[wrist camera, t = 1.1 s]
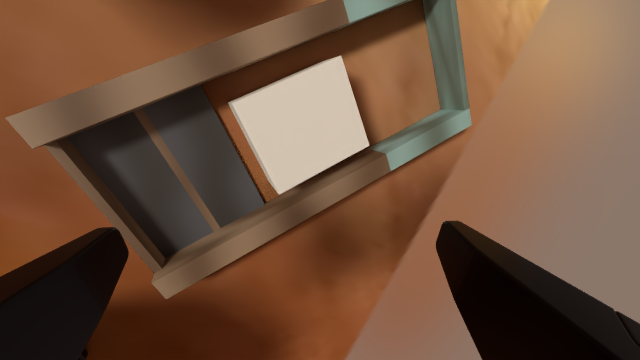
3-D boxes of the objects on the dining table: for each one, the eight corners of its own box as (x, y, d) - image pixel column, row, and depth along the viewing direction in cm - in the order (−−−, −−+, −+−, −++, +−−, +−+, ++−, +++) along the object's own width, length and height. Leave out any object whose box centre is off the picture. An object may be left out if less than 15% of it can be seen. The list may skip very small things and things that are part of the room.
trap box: (170, 275, 19) (166, 299, 16) (37, 114, 14) (5, 117, 12) (447, 122, 25) (471, 125, 22) (422, -29, 20) (450, -45, 17)
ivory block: (267, 179, 20) (278, 194, 17) (227, 102, 17) (231, 103, 14) (345, 138, 21) (369, 145, 18) (319, 62, 19) (341, 55, 16)
